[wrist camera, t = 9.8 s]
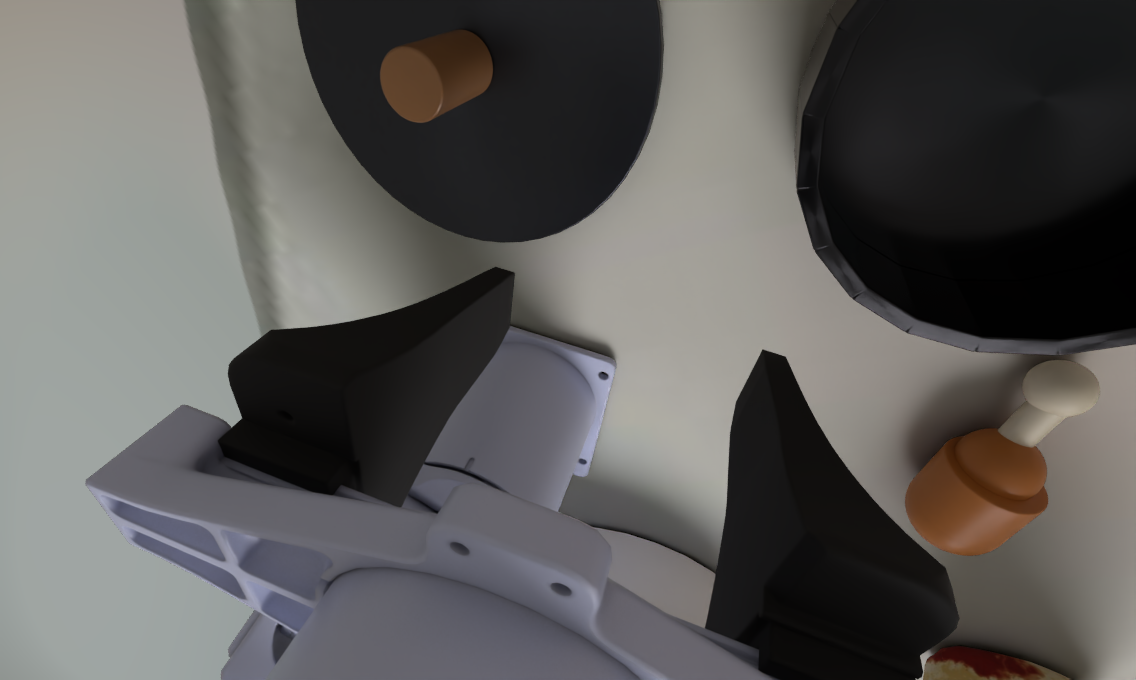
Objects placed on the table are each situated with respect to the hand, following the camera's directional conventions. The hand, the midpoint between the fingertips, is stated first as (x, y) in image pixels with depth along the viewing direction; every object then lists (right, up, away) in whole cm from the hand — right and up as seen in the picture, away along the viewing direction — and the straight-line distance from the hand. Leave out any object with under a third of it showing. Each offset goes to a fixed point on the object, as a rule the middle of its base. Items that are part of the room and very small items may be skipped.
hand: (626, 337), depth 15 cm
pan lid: (-5, +10, +5) cm, 12 cm away
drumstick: (+16, -4, +8) cm, 18 cm away
